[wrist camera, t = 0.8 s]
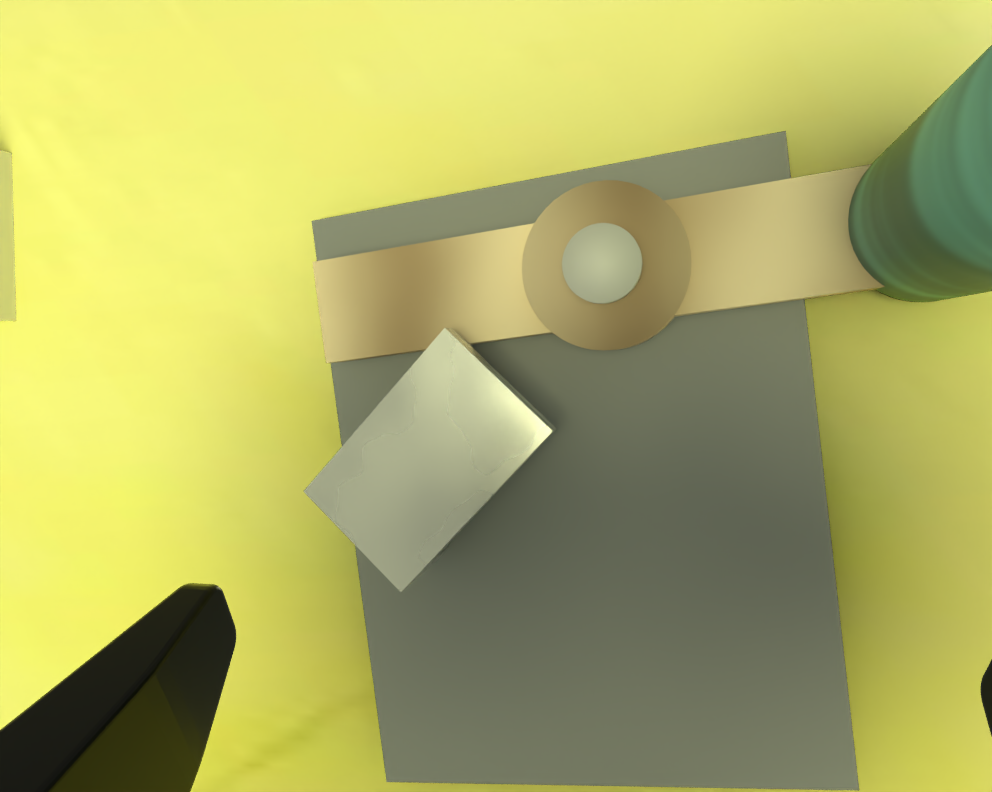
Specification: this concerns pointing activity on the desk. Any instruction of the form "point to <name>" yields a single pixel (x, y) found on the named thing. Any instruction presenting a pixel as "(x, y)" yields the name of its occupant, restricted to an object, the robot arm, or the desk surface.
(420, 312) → the link
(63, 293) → the desk surface
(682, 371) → the base plate
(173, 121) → the desk surface
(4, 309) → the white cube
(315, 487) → the block
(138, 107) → the desk surface
